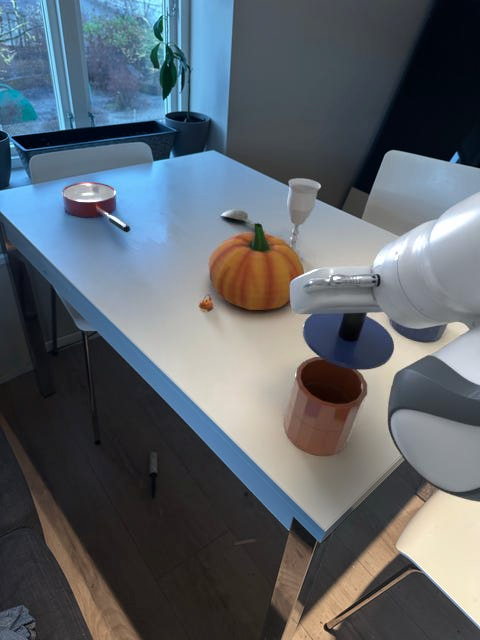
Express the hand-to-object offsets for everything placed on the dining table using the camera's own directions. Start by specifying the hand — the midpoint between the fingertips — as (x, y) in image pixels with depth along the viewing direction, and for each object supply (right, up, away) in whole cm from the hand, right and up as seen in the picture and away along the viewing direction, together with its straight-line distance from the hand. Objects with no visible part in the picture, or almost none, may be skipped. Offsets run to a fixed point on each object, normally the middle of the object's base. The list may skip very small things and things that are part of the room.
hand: (355, 304), depth 54 cm
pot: (-3, -18, +12) cm, 22 cm away
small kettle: (-21, 0, +34) cm, 39 cm away
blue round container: (+21, -3, +36) cm, 42 cm away
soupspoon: (-11, +21, +63) cm, 67 cm away
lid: (0, -4, +2) cm, 5 cm away
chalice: (-2, +13, +53) cm, 55 cm away
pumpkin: (-11, +4, +40) cm, 41 cm away
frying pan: (-47, +23, +58) cm, 78 cm away
